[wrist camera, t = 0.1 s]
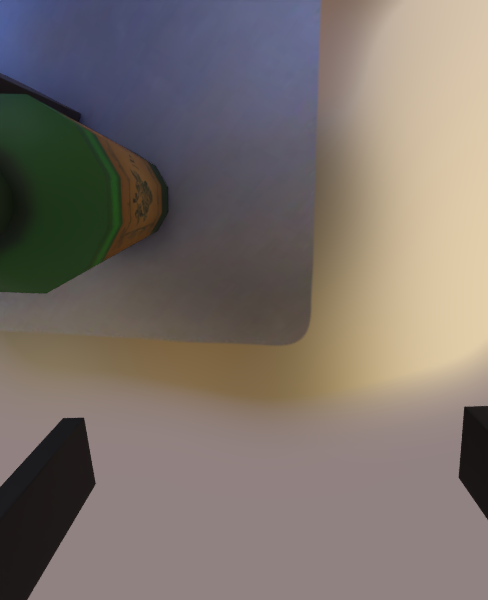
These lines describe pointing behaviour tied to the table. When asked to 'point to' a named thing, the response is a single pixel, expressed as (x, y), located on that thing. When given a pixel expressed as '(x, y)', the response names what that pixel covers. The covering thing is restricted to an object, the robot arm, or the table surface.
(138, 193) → the bottle
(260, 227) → the table surface
